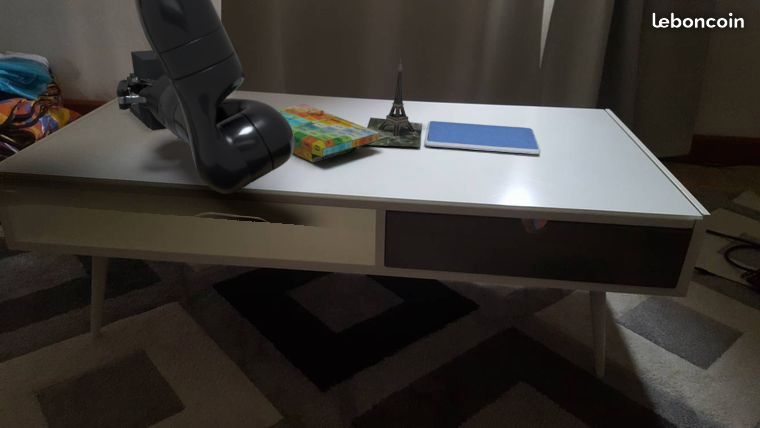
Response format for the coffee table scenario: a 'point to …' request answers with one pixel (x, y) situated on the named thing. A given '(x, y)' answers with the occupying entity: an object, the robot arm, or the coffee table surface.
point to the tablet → (481, 137)
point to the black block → (147, 68)
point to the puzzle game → (324, 133)
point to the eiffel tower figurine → (396, 123)
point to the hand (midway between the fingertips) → (149, 78)
